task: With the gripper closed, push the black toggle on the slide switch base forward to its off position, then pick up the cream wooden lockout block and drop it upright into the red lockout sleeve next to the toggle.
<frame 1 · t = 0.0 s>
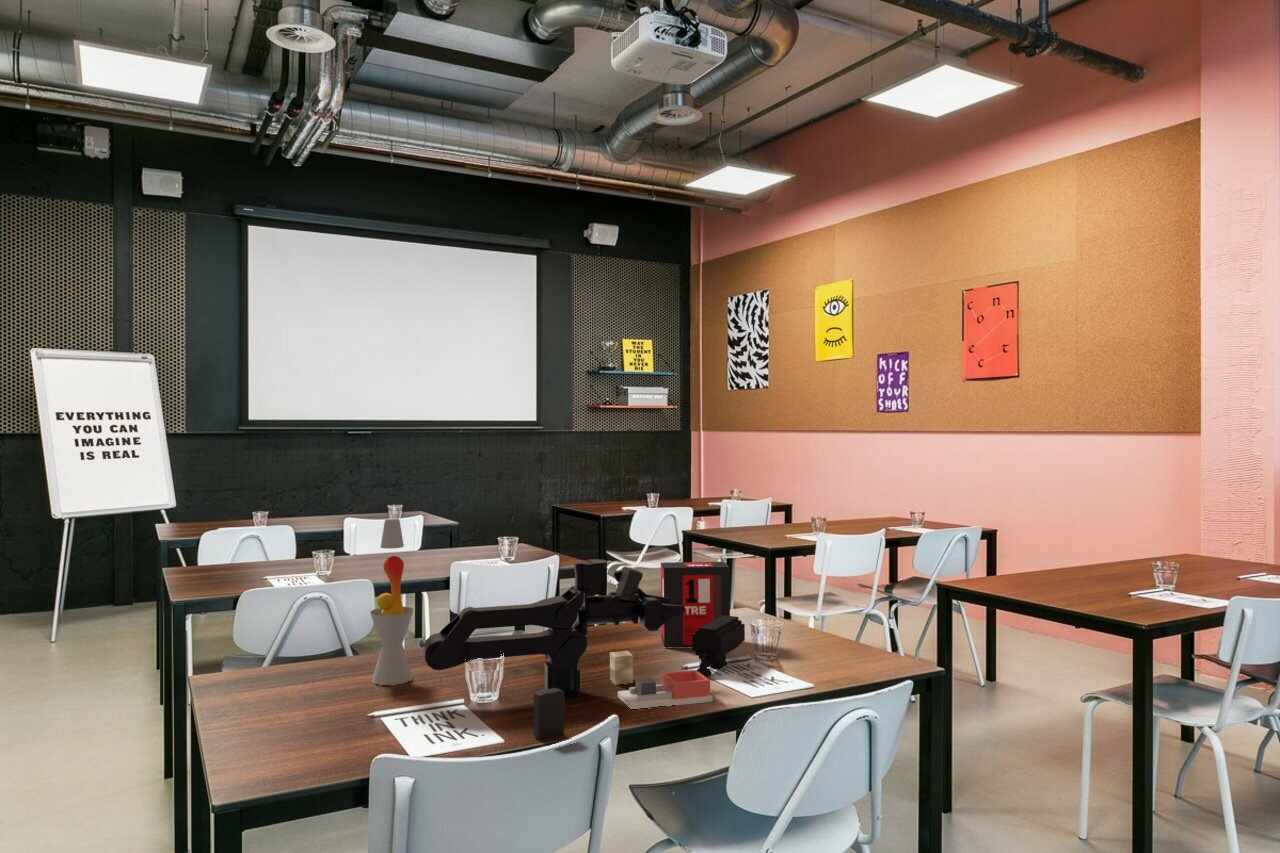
hand: (677, 604, 177), 17 cm above the table, tool horizontal, fingers open, 9 cm apart
slide switch base: (664, 698, 165), on the table
cleaning product box: (695, 644, 210), on the table
toggle: (645, 687, 164), point 3 cm above the table, slide at 0.0 cm
lockout block: (621, 681, 177), on the table
security camera: (717, 668, 188), on the table
lava lamp: (392, 680, 179), on the table
ink cartridge: (549, 737, 145), on the table
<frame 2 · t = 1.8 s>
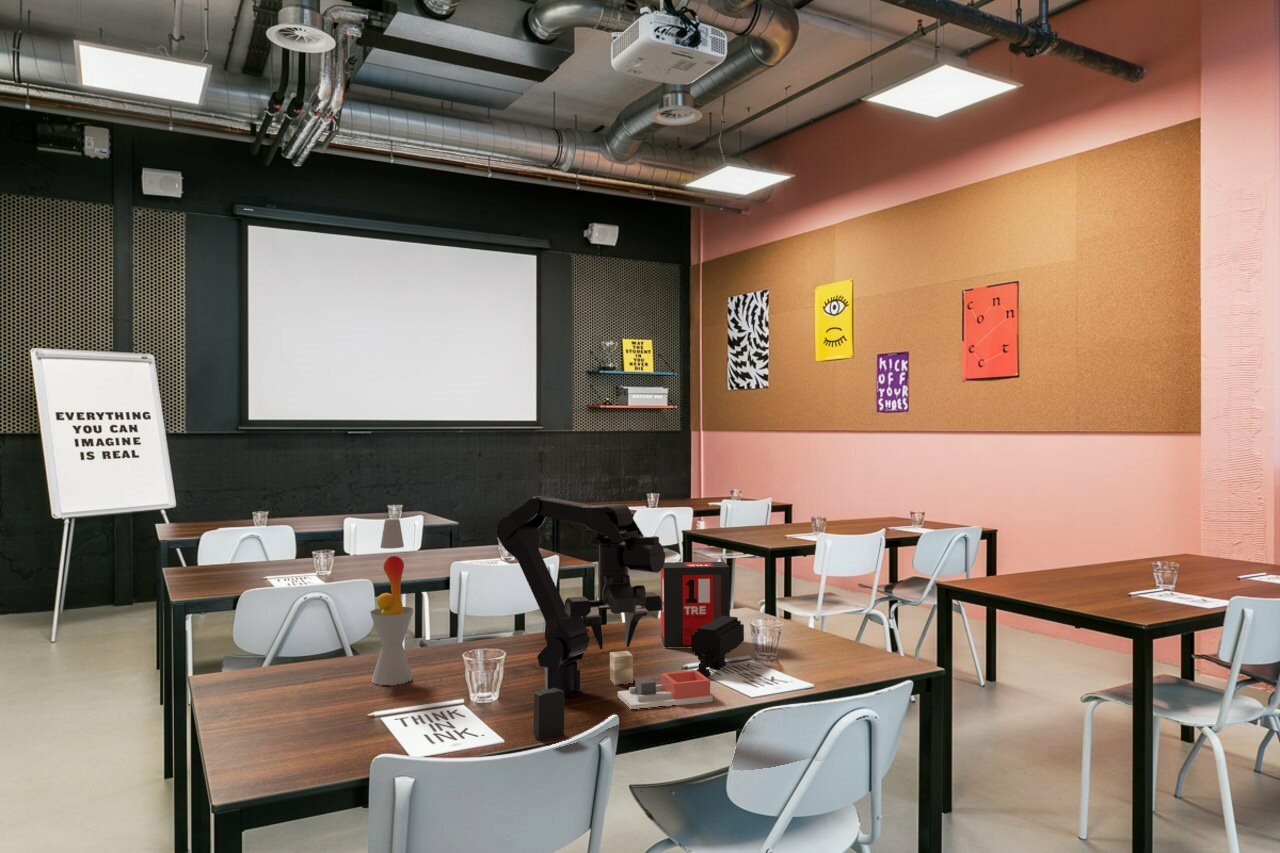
hand: (614, 648, 162), 11 cm above the table, tool pointing down, fingers open, 5 cm apart
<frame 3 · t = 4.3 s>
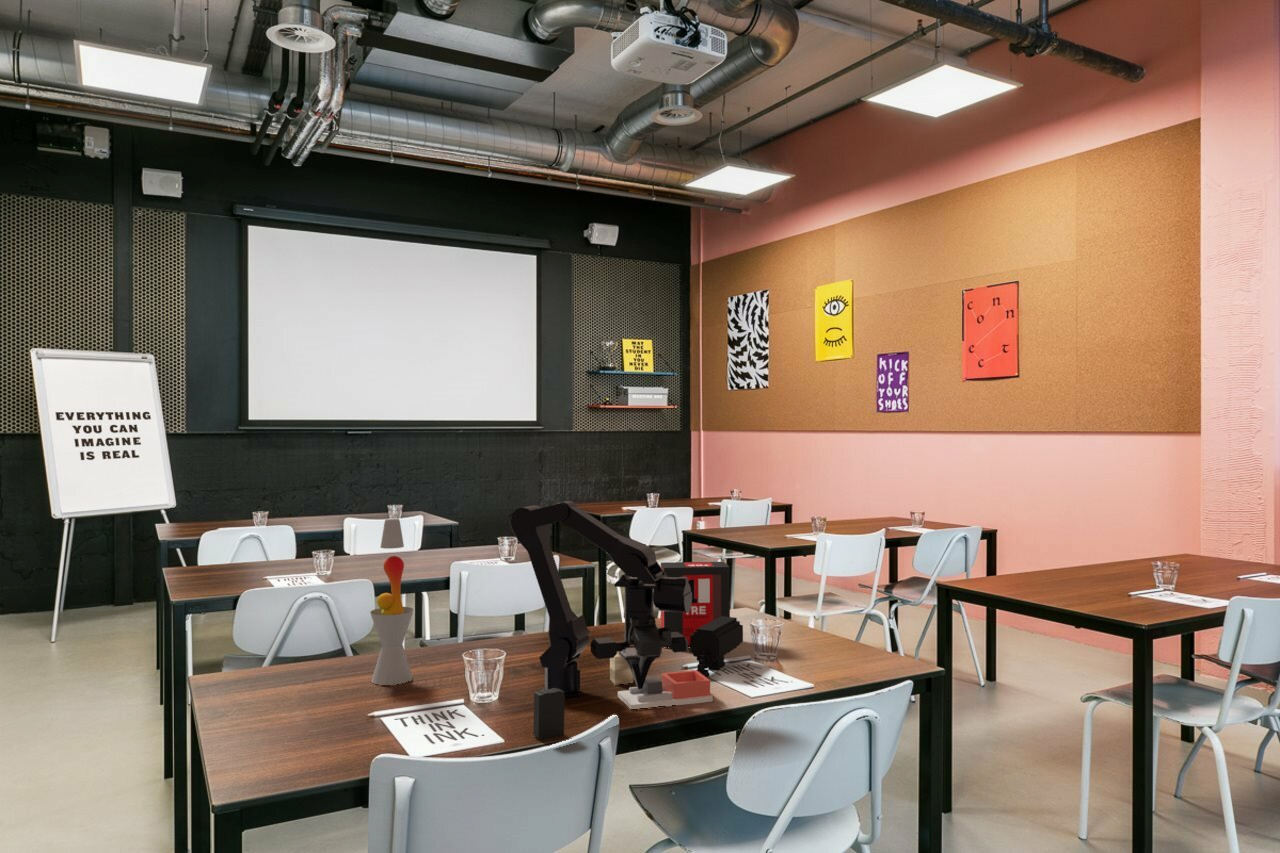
hand: (639, 688, 163), 3 cm above the table, tool pointing down, fingers closed
toggle: (651, 687, 164), point 3 cm above the table, slide at 1.3 cm, touching gripper
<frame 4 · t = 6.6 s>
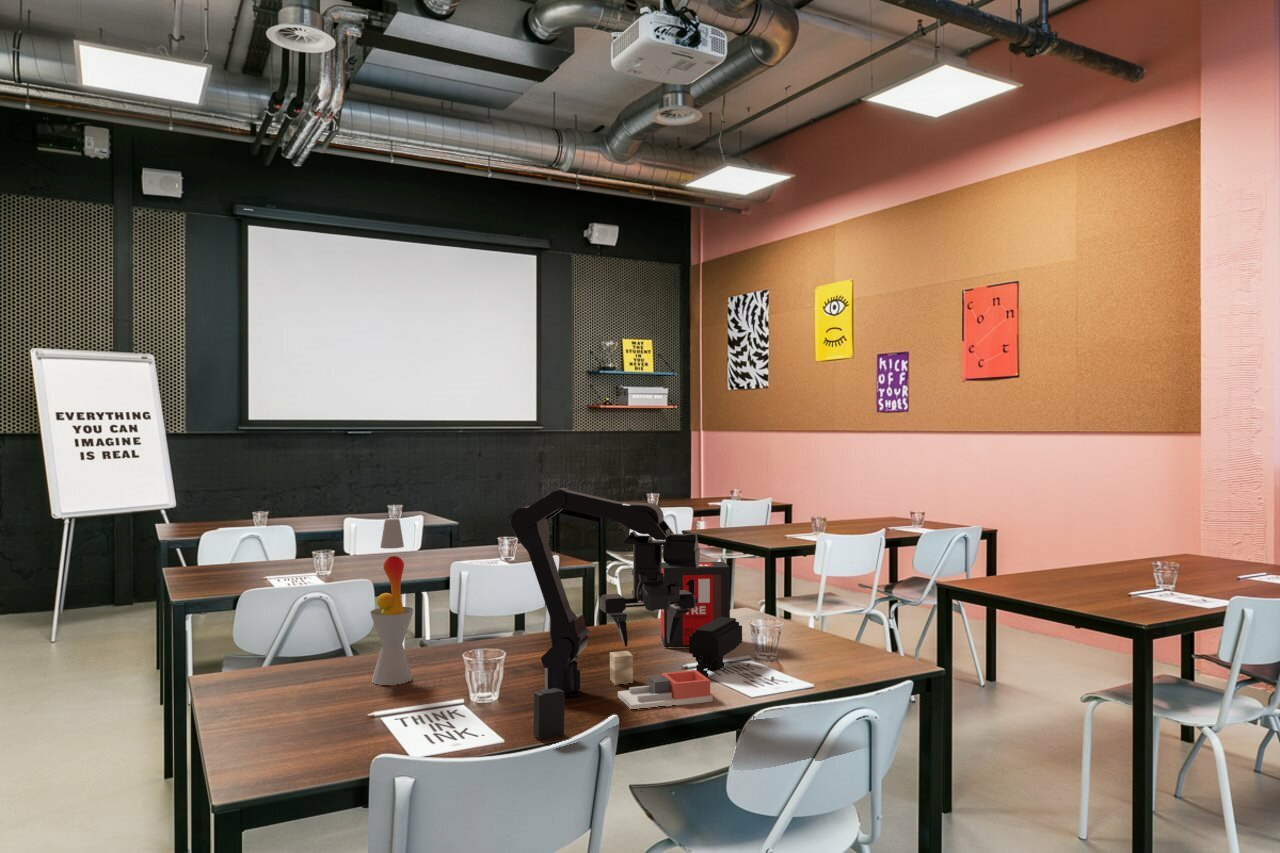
hand: (647, 644, 165), 11 cm above the table, tool pointing down, fingers open, 9 cm apart
toggle: (659, 686, 165), point 3 cm above the table, slide at 2.9 cm
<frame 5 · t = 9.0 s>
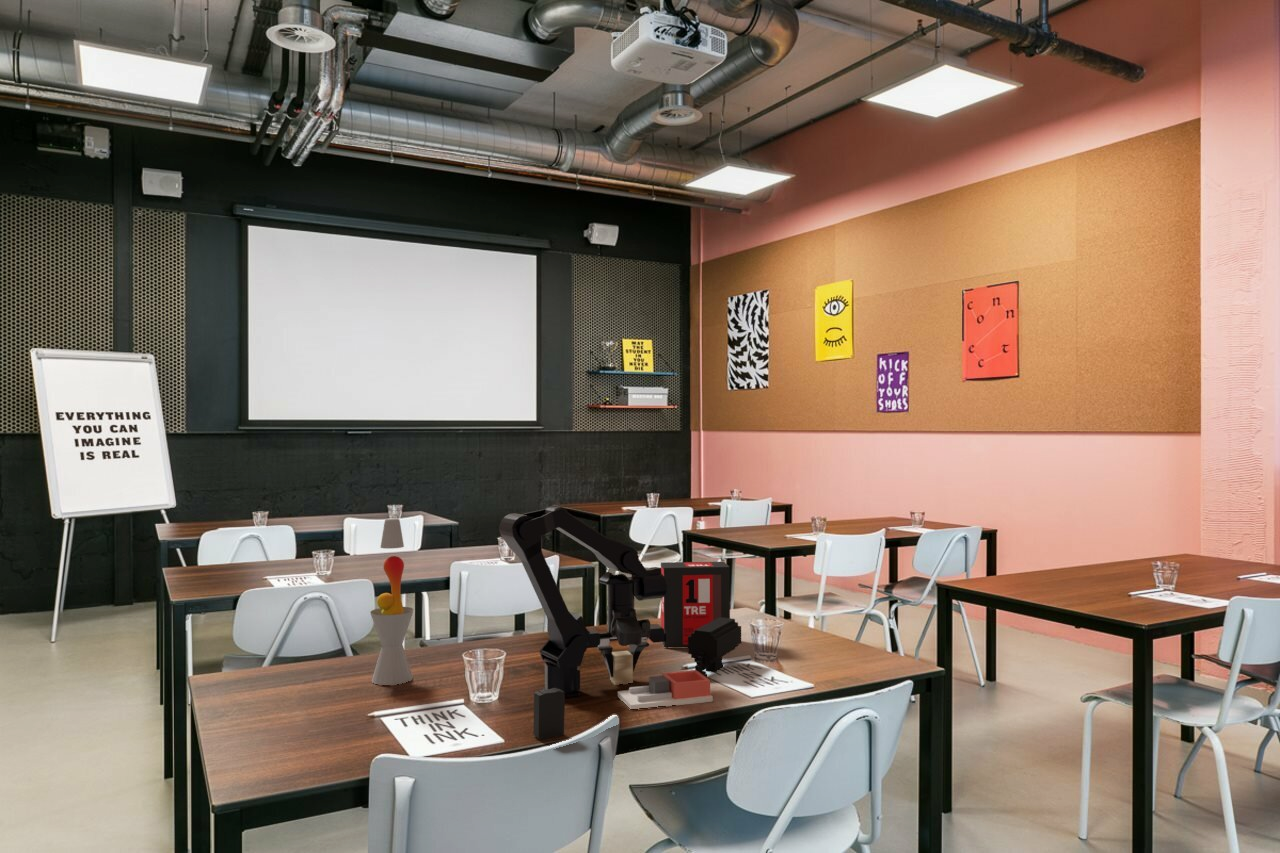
hand: (621, 675, 177), 1 cm above the table, tool pointing down, fingers closed on lockout block, 4 cm apart
lockout block: (621, 681, 177), on the table, touching gripper
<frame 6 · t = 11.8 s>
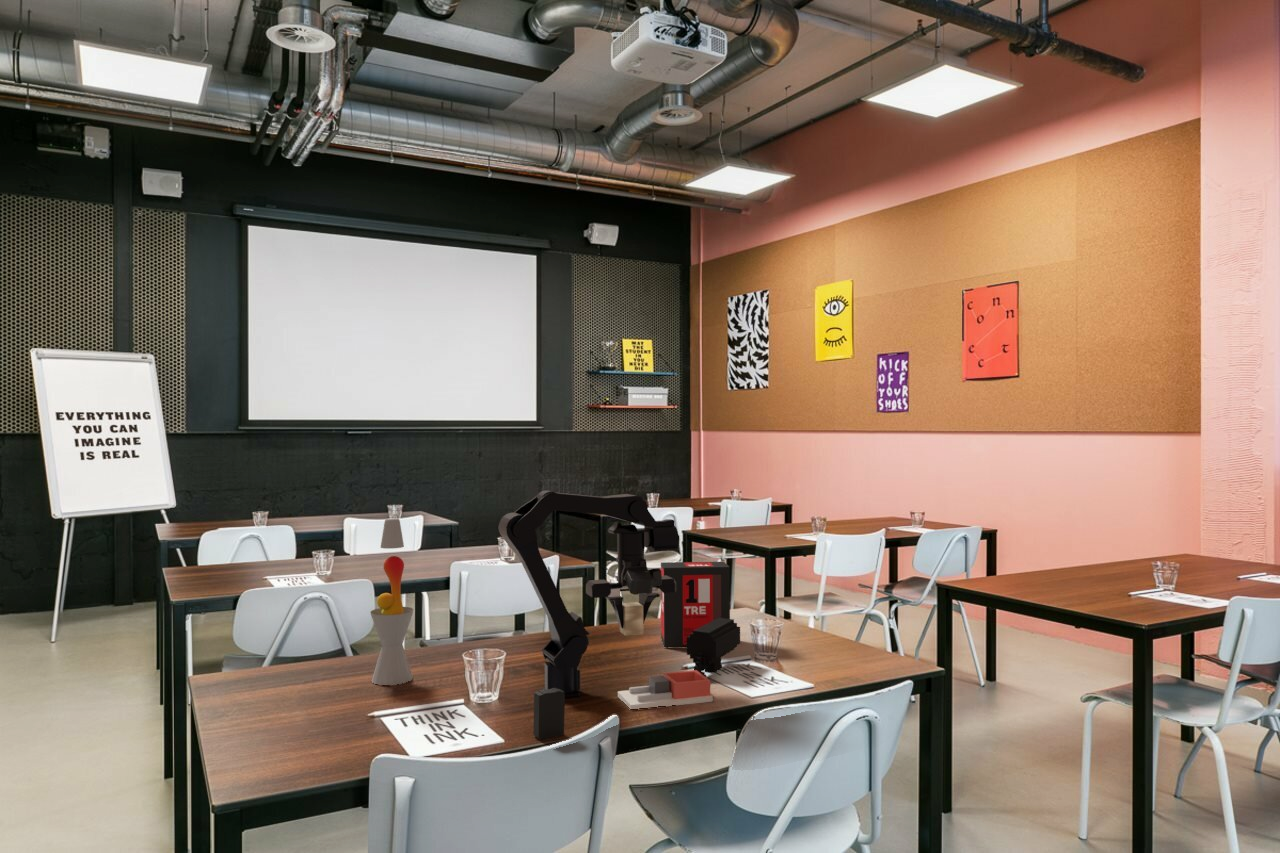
hand: (631, 626, 175), 12 cm above the table, tool pointing down, fingers closed on lockout block, 4 cm apart
lockout block: (631, 632, 175), point 11 cm above the table, touching gripper
when the fingers open (4 cm above the table, at t = 14.9 s): lockout block drops 2 cm, resting on slide switch base.
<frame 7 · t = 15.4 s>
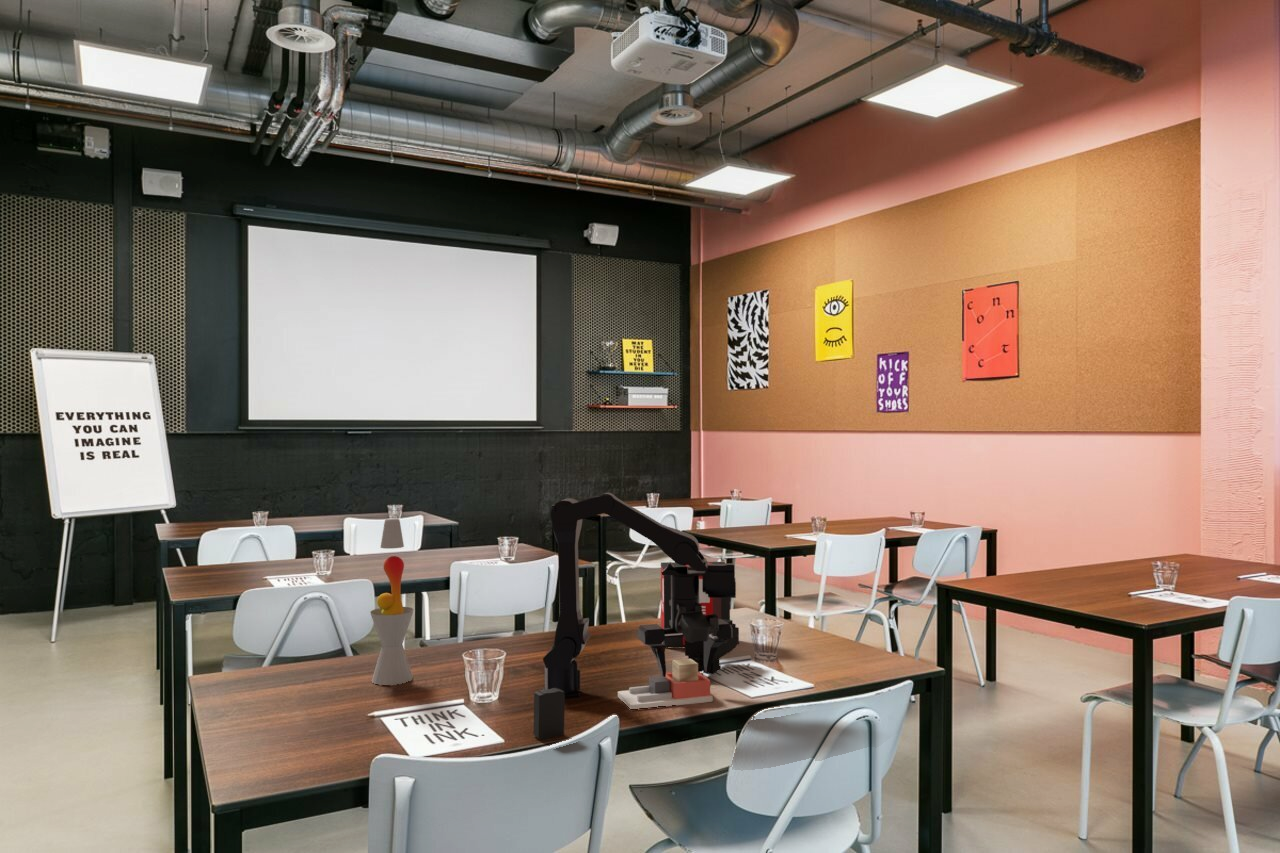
hand: (685, 674, 166), 4 cm above the table, tool pointing down, fingers open, 9 cm apart
lockout block: (685, 691, 166), point 1 cm above the table, touching slide switch base
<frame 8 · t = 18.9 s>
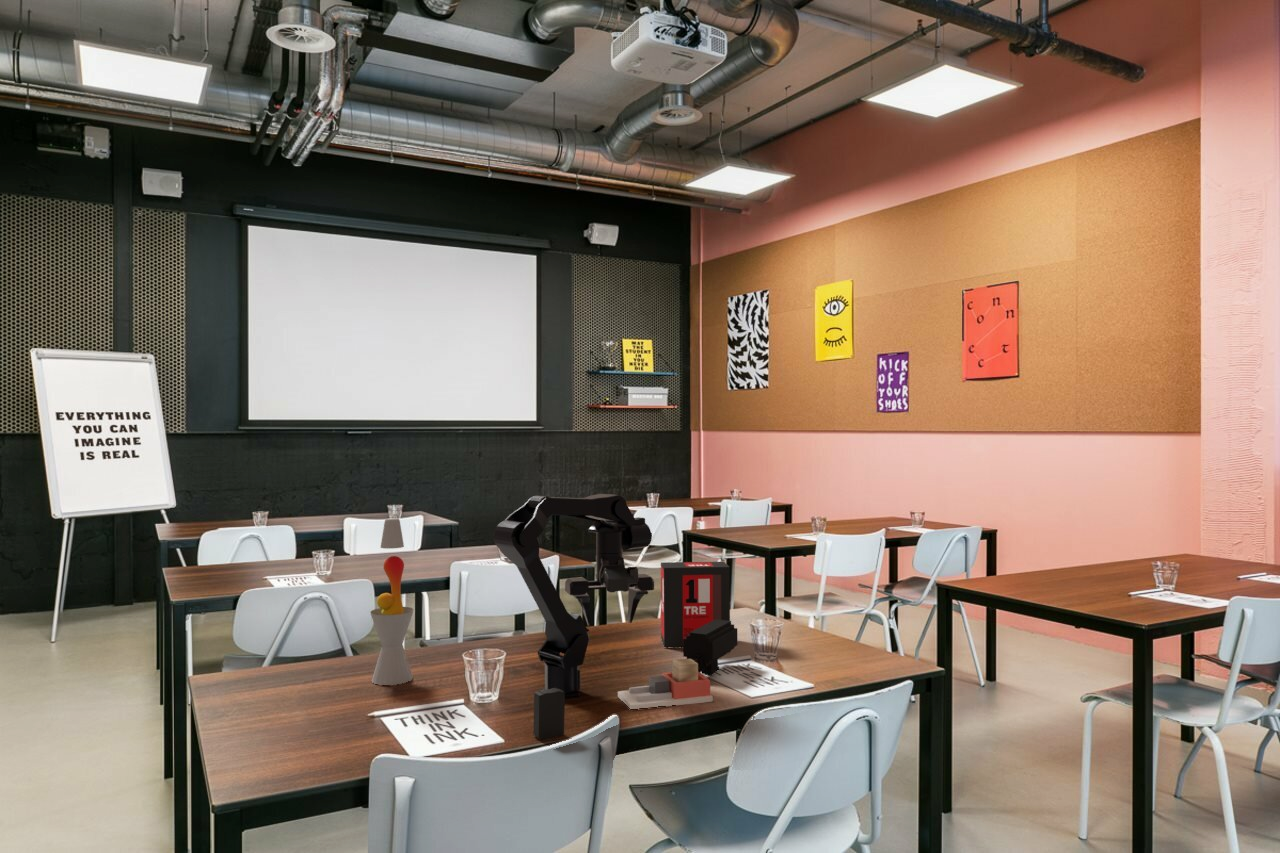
hand: (609, 624, 178), 12 cm above the table, tool pointing down, fingers open, 9 cm apart
at the end: toggle slide at 2.9 cm; lockout block 0.1 cm from the target spot, point 1.0 cm above the table; lockout block tilted 0° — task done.
